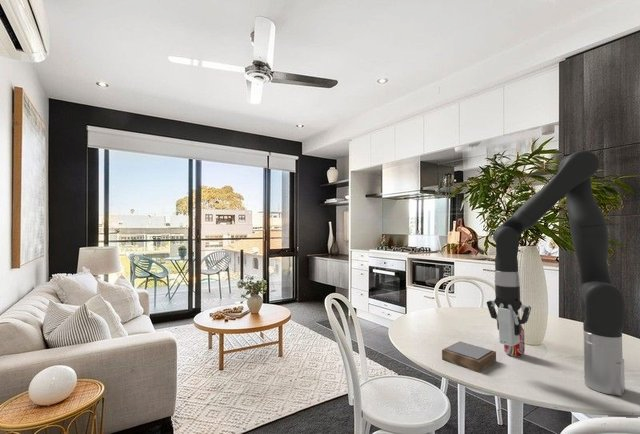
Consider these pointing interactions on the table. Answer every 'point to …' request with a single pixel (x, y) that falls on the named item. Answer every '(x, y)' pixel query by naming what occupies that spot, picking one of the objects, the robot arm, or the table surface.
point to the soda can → (516, 346)
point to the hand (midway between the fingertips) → (509, 333)
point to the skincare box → (507, 327)
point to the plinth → (469, 356)
